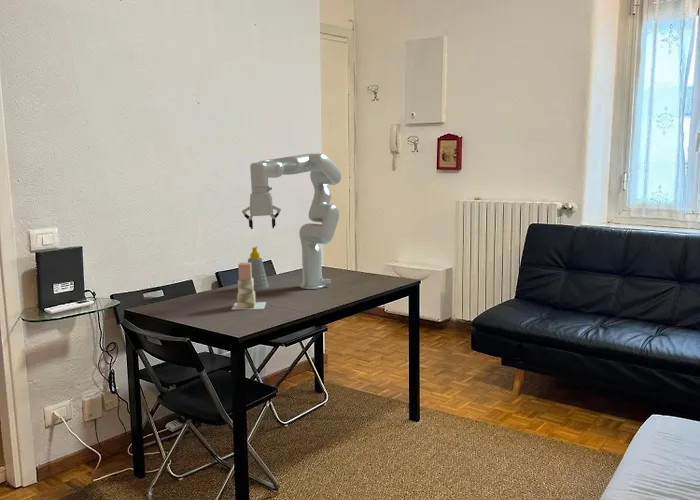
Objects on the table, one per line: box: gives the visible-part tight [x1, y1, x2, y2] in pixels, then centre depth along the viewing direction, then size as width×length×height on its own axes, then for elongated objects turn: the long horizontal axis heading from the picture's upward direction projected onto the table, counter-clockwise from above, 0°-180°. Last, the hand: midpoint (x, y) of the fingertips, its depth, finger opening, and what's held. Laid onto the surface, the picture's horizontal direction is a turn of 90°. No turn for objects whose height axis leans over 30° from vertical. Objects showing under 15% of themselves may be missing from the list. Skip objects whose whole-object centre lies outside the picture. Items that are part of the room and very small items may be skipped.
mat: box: [231, 301, 267, 311], centre depth 281 cm, size 14×12×1 cm
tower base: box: [236, 291, 257, 308], centre depth 279 cm, size 7×7×6 cm
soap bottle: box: [247, 246, 269, 292], centre depth 317 cm, size 12×12×20 cm
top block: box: [237, 261, 252, 281], centre depth 278 cm, size 5×5×7 cm
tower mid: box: [237, 278, 254, 295], centre depth 279 cm, size 6×6×6 cm
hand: (262, 228), depth 289 cm, fingers open, 9 cm apart
